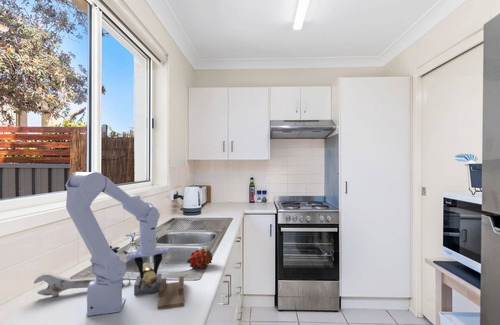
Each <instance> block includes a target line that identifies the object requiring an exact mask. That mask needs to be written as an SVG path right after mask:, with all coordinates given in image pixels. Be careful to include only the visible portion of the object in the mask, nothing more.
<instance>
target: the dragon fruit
mask: <svg viewBox="0 0 500 325" xmlns="http://www.w3.org/2000/svg"><path fill="white" fill-rule="evenodd" d="M213 256H214V254H213V253H212V252H211V251H210V250H209V249H208V250H207V249H204V248H203V247H202V248H201V249H196V250H195V251H194V252H192V253H191V254H190V257H189V258H188V259H187V261H186V264H189V267H190V268H195V267H198V268H200V269H201V268H202V269H204V268H206V267H207V266H208V265H209V264H212V261H213ZM195 269H196V268H195Z"/></svg>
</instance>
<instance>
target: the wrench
mask: <svg viewBox="0 0 500 325" xmlns="http://www.w3.org/2000/svg"><path fill="white" fill-rule="evenodd" d="M126 279H127V280H128V282H126V283H124V282H123V281H124V280H126ZM94 280H96V277H92V278H91V277H90V278H88V277H87V278H73V279H72V278H66V277H64V276H63V277H62V276H59V275H57V274H54V273H51V272H45V273H42V274H40V275H38V276H37V277H36V279H35V280H34V281H33V284H34V285H35V284H38V283H40V282H43V281H44V282H45V283H46V284H48V285H47V287H44V288H41V289H39V290H38V291H37V295H41V296H45V297H46V296H48V297H49V296H52V298H55V297H59V296H60V293H61V292H64V291H66V290H70V289H85V288H86V289H88V285H89V283H90V282H91V281H94ZM130 283H131V278H130V276H123V279H122V287H124V286H129V285H131V284H130Z"/></svg>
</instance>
